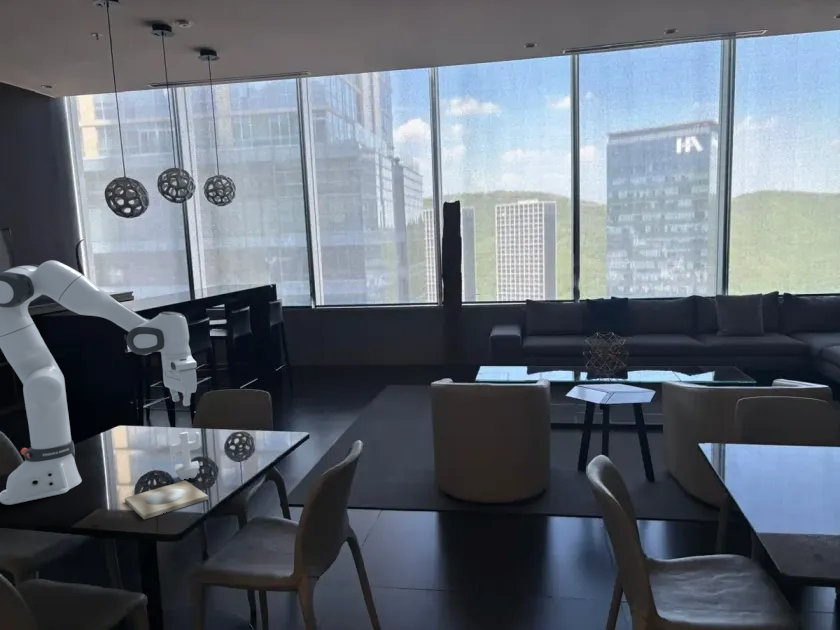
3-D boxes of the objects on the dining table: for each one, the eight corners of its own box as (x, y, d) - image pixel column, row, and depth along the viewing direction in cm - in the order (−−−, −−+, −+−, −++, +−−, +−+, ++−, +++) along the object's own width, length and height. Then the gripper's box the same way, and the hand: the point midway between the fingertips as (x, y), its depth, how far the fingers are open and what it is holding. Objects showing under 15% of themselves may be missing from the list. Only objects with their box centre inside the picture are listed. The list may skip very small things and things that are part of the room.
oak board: (144, 519, 163) (143, 514, 163) (125, 501, 177) (124, 497, 176) (208, 499, 175) (207, 494, 175) (185, 484, 188) (185, 479, 188)
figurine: (172, 476, 196) (168, 432, 195) (202, 470, 200) (198, 427, 199) (172, 483, 190) (168, 437, 188) (204, 477, 194) (199, 432, 192)
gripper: (156, 360, 197) (160, 400, 198) (178, 366, 182) (182, 410, 183) (175, 357, 201) (179, 396, 202) (198, 362, 186) (203, 405, 187)
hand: (181, 403), depth 193 cm, fingers open, 8 cm apart
